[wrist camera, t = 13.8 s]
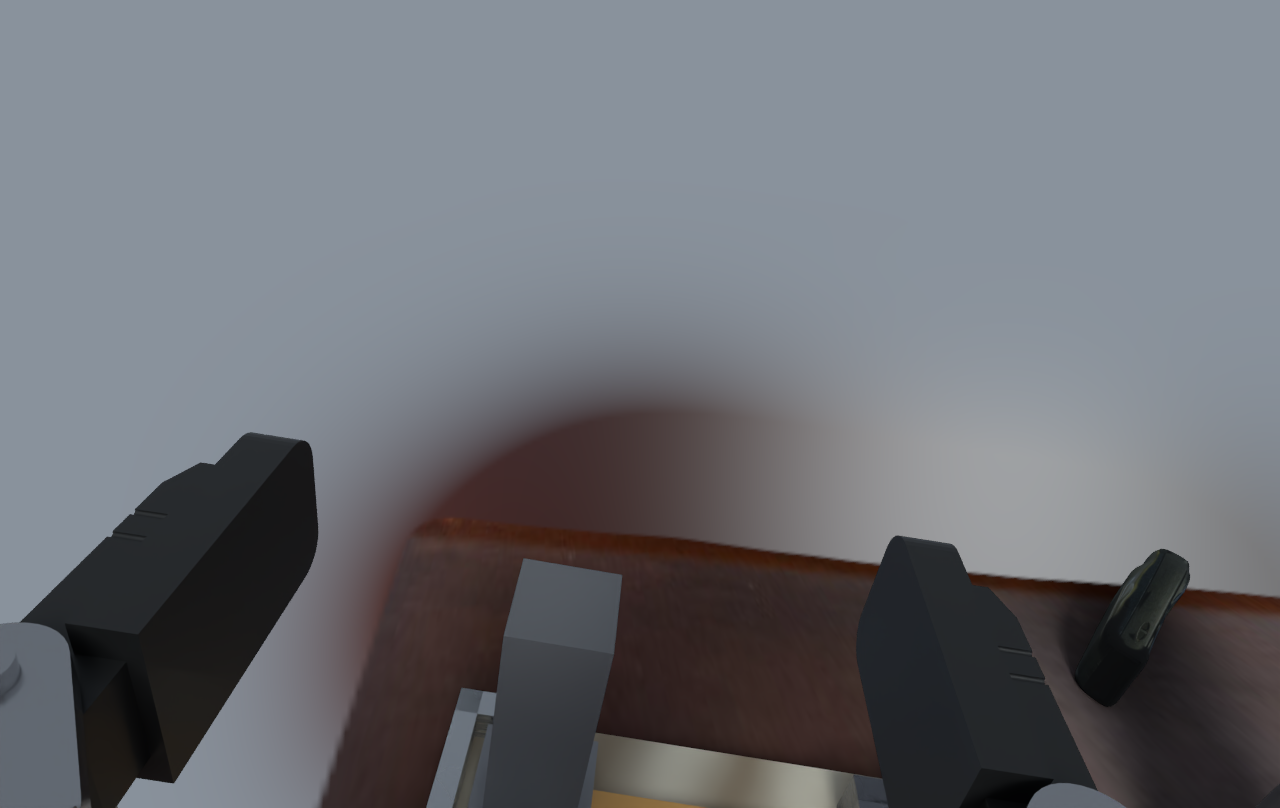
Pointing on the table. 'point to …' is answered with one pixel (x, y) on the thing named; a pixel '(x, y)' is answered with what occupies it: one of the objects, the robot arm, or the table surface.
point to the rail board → (697, 777)
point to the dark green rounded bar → (1131, 626)
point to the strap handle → (552, 694)
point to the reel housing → (864, 793)
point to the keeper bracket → (461, 745)
